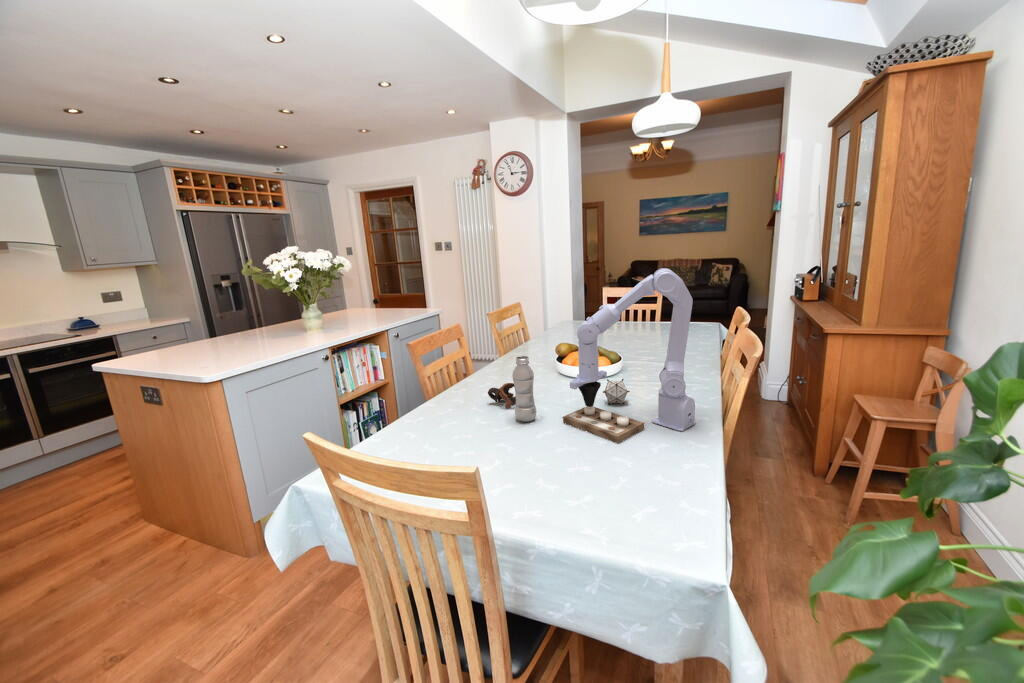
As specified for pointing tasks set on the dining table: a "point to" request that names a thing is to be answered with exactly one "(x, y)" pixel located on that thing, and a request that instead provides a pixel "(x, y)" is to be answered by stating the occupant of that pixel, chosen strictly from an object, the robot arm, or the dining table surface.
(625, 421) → the button
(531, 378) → the plastic bottle
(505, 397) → the dark brown twisted loops
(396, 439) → the dining table surface
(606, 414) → the button middle
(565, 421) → the button board
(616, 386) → the game die
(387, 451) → the dining table surface
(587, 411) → the button
